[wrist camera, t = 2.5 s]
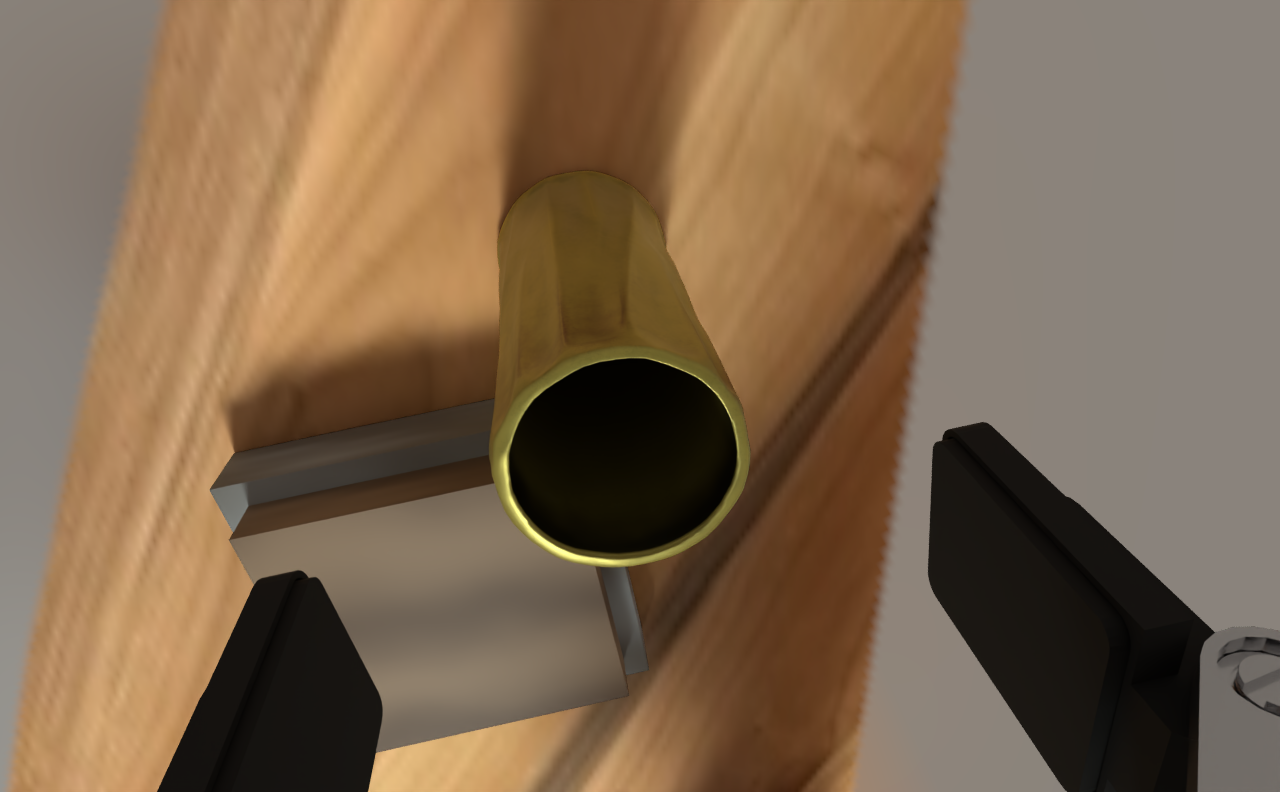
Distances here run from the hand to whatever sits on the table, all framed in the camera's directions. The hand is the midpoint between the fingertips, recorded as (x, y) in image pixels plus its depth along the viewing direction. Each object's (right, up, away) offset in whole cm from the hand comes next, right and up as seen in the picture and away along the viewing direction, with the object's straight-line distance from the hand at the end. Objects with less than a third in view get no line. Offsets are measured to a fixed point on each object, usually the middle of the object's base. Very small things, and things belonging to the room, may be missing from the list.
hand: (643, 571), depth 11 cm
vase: (-2, +8, +16) cm, 18 cm away
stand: (-8, -4, +21) cm, 23 cm away
